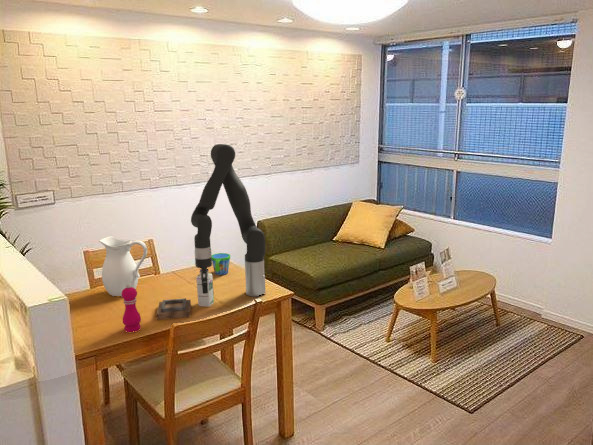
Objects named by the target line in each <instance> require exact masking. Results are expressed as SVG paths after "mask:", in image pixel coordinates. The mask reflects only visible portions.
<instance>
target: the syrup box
mask: <svg viewBox="0 0 593 445" xmlns="http://www.w3.org/2000/svg"><path fill="white" fill-rule="evenodd" d="M195 279H196V291H197V292H196V293H197V303H198V306H199V307H209V308H210V307H211V306H212V305H213V304H214V303H215V294H214V293H215V292H214V282H213V281H214V280H213V273H211V272H209V274H208V277H207V279H208V280H207V284H208V286H207V288H208V293H205V294H203V288H202V281H201V275H200V274H198V275H197V276H196V277H195ZM203 283H206V281H203Z"/></svg>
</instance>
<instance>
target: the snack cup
mask: <svg viewBox="0 0 593 445" xmlns="http://www.w3.org/2000/svg"><path fill="white" fill-rule="evenodd" d="M230 260H231V254H230V253H224V252H222V253H221V252H219V253H214V254H213V253H212V266H213V271H214V274H215V275H218V276H223V275H226V274H228V273H229V269H230Z"/></svg>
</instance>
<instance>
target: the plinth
mask: <svg viewBox="0 0 593 445" xmlns="http://www.w3.org/2000/svg"><path fill="white" fill-rule="evenodd" d="M191 303H192V302H191V299H187V298H174V299H163V300H162V301H159V302H158V306H157V311H156V320H157V321H159V320H169V319H170V320H171V319H180V318H191V309H192V306H191Z"/></svg>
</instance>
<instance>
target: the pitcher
mask: <svg viewBox="0 0 593 445" xmlns="http://www.w3.org/2000/svg"><path fill="white" fill-rule="evenodd" d="M98 242H100V243H101V244H102V245H103V246H104V248H105V249H106V254H105V258H104V261H103V265H102V269H101V270H102V271H101V280H102V284H103V287H104V288H105V290H106V291H107V293H108V294H109V295H110V296H111V295H112V296H111V297H114V296H121V297H122V291H123V289H125V288H127V287H126V285H127V284H130V285H131V287H133V288H135V289H136V288H137V286H138V283H139V278H141V275H140V273H139V268H140V266H141V265H142V263H143V262H144V261H145V259H146V257H147V256H148V255H147V254H148V247H147V244H146V243H145V242H144V241H142V240H134V241H132V240H131V239H130V240H123V239H120V238H118V237H115V236H111V235H110V236H109V235H108V236H106V237H104V238H102V239H99V240H98ZM135 245H139V246H141V248H142V249H143V253H142V256H141V259H140V260H139V262H138V263H137V264H136V262H135V260H134V258H133V256H132V254H131V252H130V251H131V250H132V247H133V246H135ZM136 290H137V289H136Z"/></svg>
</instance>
